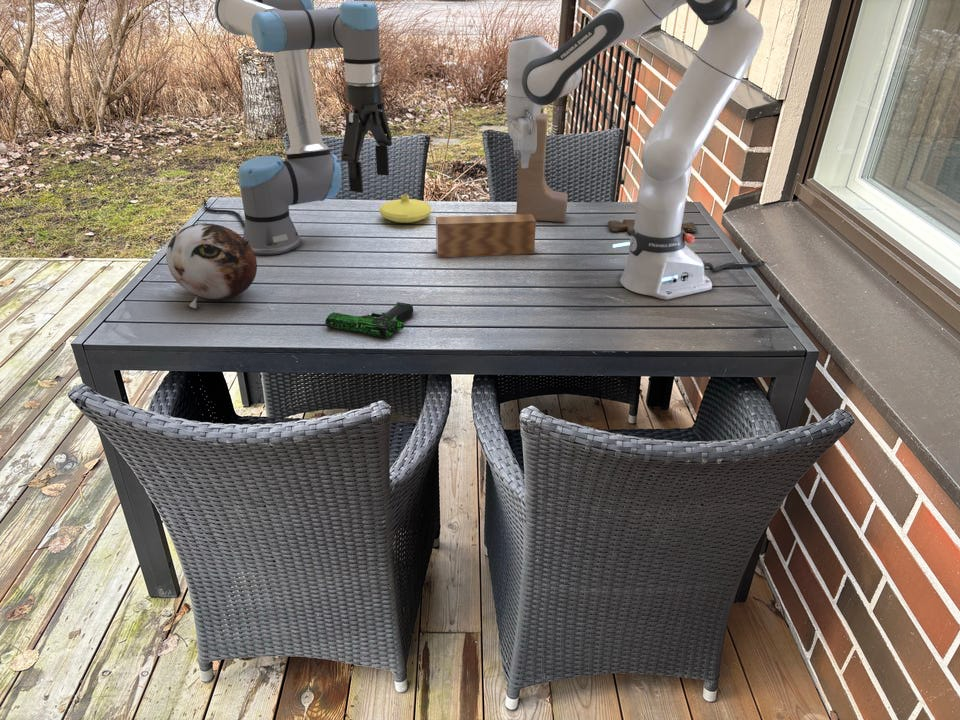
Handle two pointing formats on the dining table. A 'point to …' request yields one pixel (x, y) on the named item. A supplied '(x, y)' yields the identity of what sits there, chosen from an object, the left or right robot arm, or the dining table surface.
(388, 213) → the yellow pattypan squash
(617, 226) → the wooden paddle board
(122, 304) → the dining table surface
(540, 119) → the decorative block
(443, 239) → the bar
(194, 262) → the cat face balloon
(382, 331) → the handgun
